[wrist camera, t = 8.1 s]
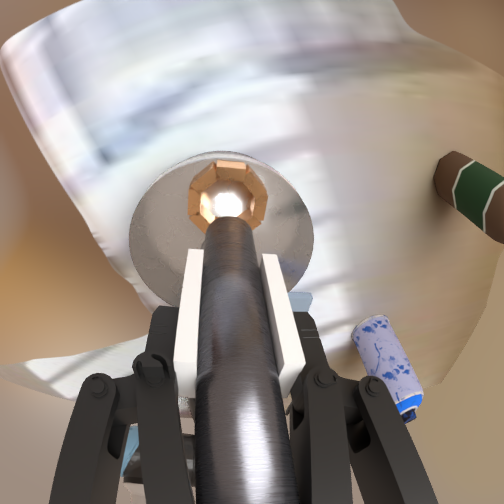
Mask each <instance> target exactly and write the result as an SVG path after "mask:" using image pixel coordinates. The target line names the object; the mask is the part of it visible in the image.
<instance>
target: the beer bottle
mask: <svg viewBox="0 0 504 504" xmlns="http://www.w3.org/2000/svg"><path fill="white" fill-rule="evenodd" d="M434 180H435V184H436V188H437V193H438V195H439V196H441V197H442V198H443V199H444V200H445V201H446V202H448V203H449V204H450V205H452V206H453V207H454V208H456V209H457V210H458V211H459V212H461V213H462V214H463V215H464V216H466V217H467V218H468V219H469V220H470V221H472V222H473V223H474V224H475V225H476V226H478V227H479V228H480V229H481V230H482V231H483V232H484V233H486V234H487V235H488V236H490V237H491V238H492V239H494V240H495V241H497V242H500V243H502V244H504V177H502V176H501V175H499V174H498V173H496V172H494V171H492V170H491V169H489V168H487V167H485V166H484V165H482V164H480V163H478V162H476V161H475V160H473V159H471V158H469V157H467V156H465V155H463V154H461V153H458V152H456V151H452V152H451V153H449V154H448V155H446V156H444V157H443V158H441V159H440V161H439V164H438V167H437V169H436V172H435V175H434Z"/></svg>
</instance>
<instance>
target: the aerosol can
mask: <svg viewBox="0 0 504 504" xmlns="http://www.w3.org/2000/svg"><path fill="white" fill-rule="evenodd" d="M352 339H353V341H354V342H355V344H356V346H357V349H358V351H359V354H360V356H361V359H362V361H363V364H364V366H365V369H366V371H367V374H368V376H372V375H373V376H376V377H379V378H380V379H381V380H383V382H384V383H385V384H386V386H387V388H388V390H389V392H390V394H391V396H392V398H393V400H394V402H395V404H396V406H397V408H398V410H399V413H400V415H401V417H402V419H403V421H404V423H405V424H406V423H408V422H410V421H412V420H414V419H415V418H416V414H415V411H416V410H417V408H418V407H419V405H420V404H421V401H422V397H423V396H424V394H423V389H422V387H421V385H420V383H419V381H418V378H417V376H416V374H415V372H414V370H413V368H412V366H411V364H410V362H409V360H408V358H407V356H406V354H405V352H404V350H403V348H402V346H401V344H400V342H399V340H398V338H397V336H396V334H395V332H394V331H393V329H392V327H391V325H390V321H389V319H388V317H386V316H385V315H374V316H371V317H369V318H367V319H365V320H363V321H362V322H360V323H359V324H358V325H357V326H356V327H355V329H354V330H353V332H352Z"/></svg>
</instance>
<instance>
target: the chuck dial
mask: <svg viewBox="0 0 504 504" xmlns="http://www.w3.org/2000/svg"><path fill="white" fill-rule="evenodd" d="M223 216H236V217H239V218H241V219H243V220H245V221H246V222H247V223H248V224H249V225H250V227H251V229H252V232H253V237H254V243H255V248H256V254H257V259H258V265H259V267H260V262H261V257H262V254H276V255H277V258H278V261H279V265H280V268H281V272H282V276H283V279H284V283H285V286H286V290H287V293H288V292H289V291H291V289H292V288H293V287H294V286H295V285H296V284H297V283H298V281H299V280H300V279H301V277H302V276H303V274H304V272H305V271H306V269H307V267H308V264H309V262H310V259H311V255H312V251H313V243H314V234H313V226H312V221H311V217H310V215H309V212H308V210H307V208H306V206H305V204H304V202H303V201H302V199H301V198H300V196H299V194H298V193H297V191H296V189H295V188H294V187H293V186H292V185H291V183H290V182H289V181H288V180H287V179H286V178H285V177H284V176H283V175H281V174H280V173H279V172H278V171H276V170H275V169H273V168H272V167H270V166H268V165H267V164H264V163H262V162H260V161H258V160H255V159H252V158H249V157H246V156H241V155H235V154H208V155H202V156H198V157H194V158H190V159H188V160H185V161H183V162H180V163H178V164H176V165H175V166H173V167H171V168H170V169H168V170H167V171H165V172H164V173H163V174H162V175H160V176H159V177H158V178H157V179H156V180H155V181H154V182H153V183H152V184H151V185H150V187H149V188H148V190H147V191H146V193H145V194H144V196H143V197H142V199H141V200H140V202H139V204H138V206H137V208H136V210H135V212H134V214H133V217H132V221H131V225H130V232H129V247H130V252H131V257H132V260H133V263H134V266H135V268H136V270H137V271H138V273H139V275H140V277H141V278H142V280H143V281H144V282H145V284H146V285H147V286H148V287H149V288H150V289H151V290H152V291H153V292H154V293H155V294H156V295H157V296H159V297H160V298H161V299H163V300H164V301H166V302H167V303H169V304H171V305H173V306H174V307H180V302H181V294H182V288H183V281H184V274H185V268H186V262H187V256H188V250H189V249H201V250H204V242H205V233H206V230H207V228H208V226H209V225H210V224H211V223H212V222H213V221H214V220H216V219H217V218H220V217H223Z"/></svg>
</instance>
